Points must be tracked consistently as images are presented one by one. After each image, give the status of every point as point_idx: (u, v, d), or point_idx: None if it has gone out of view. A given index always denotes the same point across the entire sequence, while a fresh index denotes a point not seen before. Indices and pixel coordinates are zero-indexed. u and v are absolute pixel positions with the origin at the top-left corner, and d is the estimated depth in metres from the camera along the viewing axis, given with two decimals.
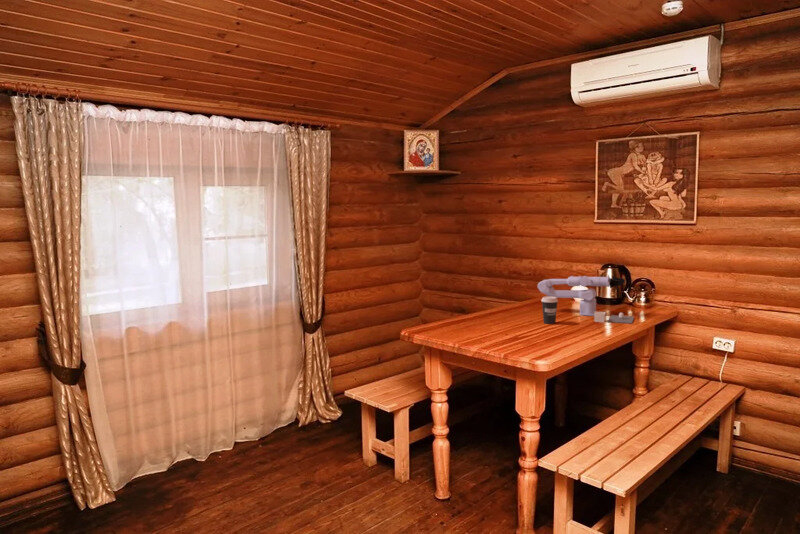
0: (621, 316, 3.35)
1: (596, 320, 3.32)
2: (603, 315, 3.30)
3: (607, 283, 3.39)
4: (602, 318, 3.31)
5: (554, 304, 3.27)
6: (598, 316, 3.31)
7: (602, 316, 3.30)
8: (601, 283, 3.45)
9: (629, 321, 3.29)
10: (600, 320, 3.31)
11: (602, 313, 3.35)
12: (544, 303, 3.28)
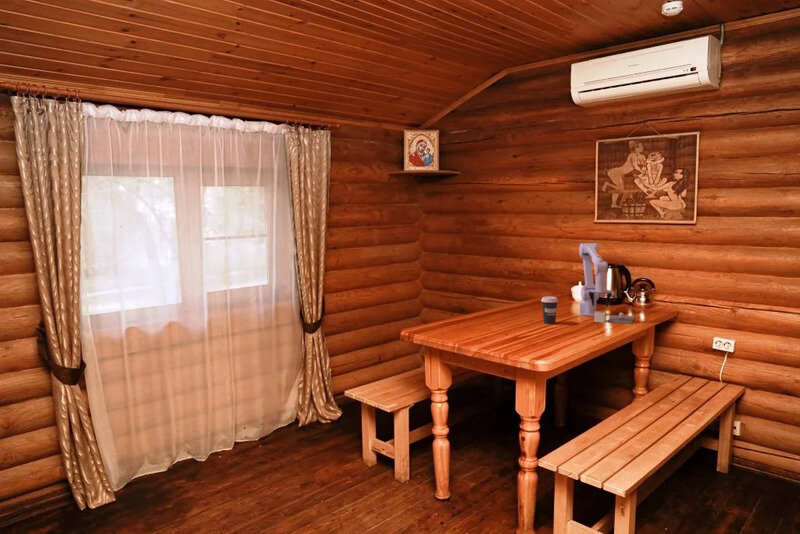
0: (621, 316, 3.35)
1: (596, 320, 3.32)
2: (603, 315, 3.30)
3: (587, 291, 3.35)
4: (602, 318, 3.31)
5: (554, 304, 3.27)
6: (598, 316, 3.31)
7: (602, 316, 3.30)
8: None
9: (629, 321, 3.29)
10: (600, 320, 3.31)
11: (602, 313, 3.35)
12: (544, 303, 3.28)
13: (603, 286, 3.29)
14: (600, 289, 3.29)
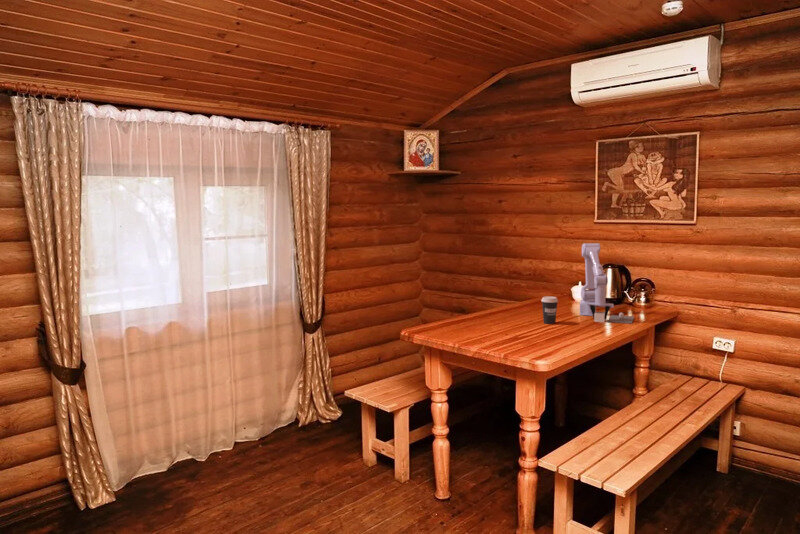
0: (621, 316, 3.35)
1: (596, 320, 3.32)
2: (603, 315, 3.30)
3: (587, 304, 3.36)
4: (602, 318, 3.31)
5: (554, 304, 3.27)
6: (598, 316, 3.31)
7: (602, 316, 3.30)
8: None
9: (629, 321, 3.29)
10: (600, 320, 3.31)
11: (602, 313, 3.35)
12: (544, 303, 3.28)
13: (603, 299, 3.30)
14: (600, 302, 3.30)
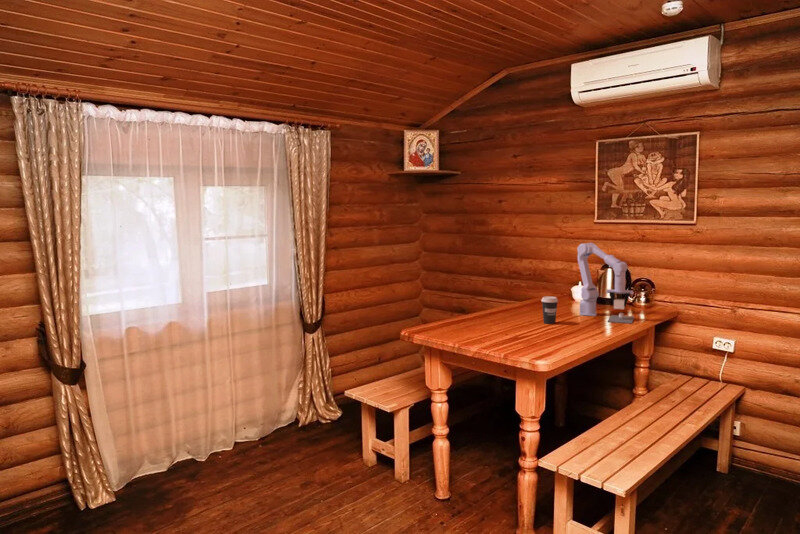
0: (621, 316, 3.35)
1: (616, 307, 3.33)
2: (623, 302, 3.31)
3: None
4: (622, 305, 3.32)
5: (554, 304, 3.27)
6: (618, 303, 3.33)
7: (622, 303, 3.32)
8: None
9: (629, 321, 3.29)
10: (619, 307, 3.32)
11: (621, 300, 3.36)
12: (544, 303, 3.28)
13: (622, 286, 3.31)
14: (619, 289, 3.31)
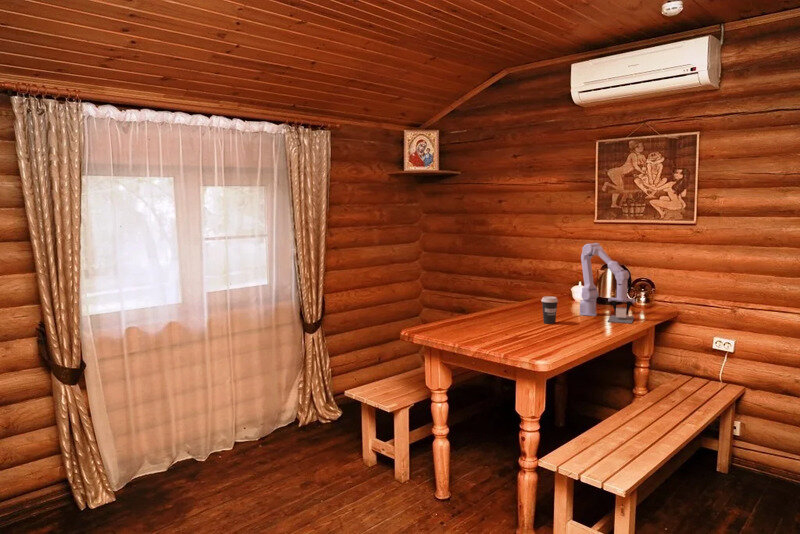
0: None
1: (618, 315, 3.34)
2: (625, 310, 3.32)
3: None
4: (624, 313, 3.33)
5: (554, 304, 3.27)
6: (620, 311, 3.33)
7: (624, 311, 3.32)
8: None
9: (629, 321, 3.29)
10: (621, 316, 3.33)
11: (623, 308, 3.37)
12: (544, 303, 3.28)
13: (624, 294, 3.32)
14: (621, 297, 3.32)
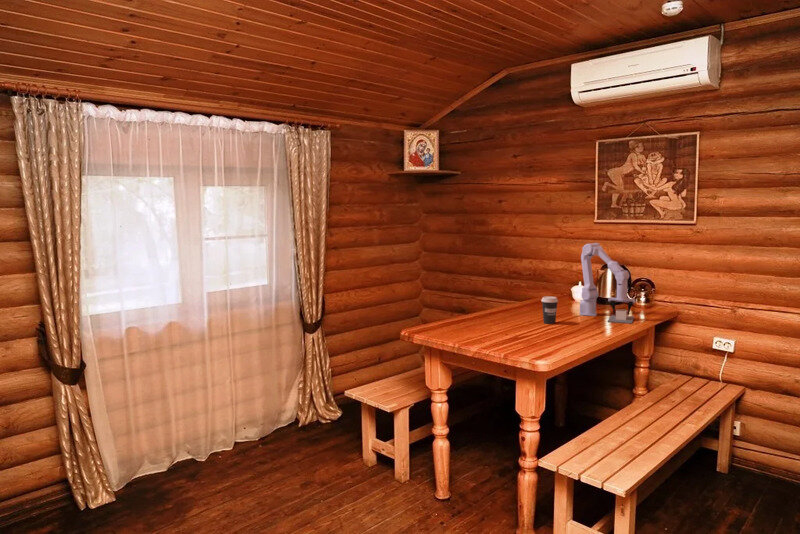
0: None
1: (618, 318, 3.34)
2: (625, 313, 3.32)
3: None
4: (624, 316, 3.33)
5: (554, 304, 3.27)
6: (620, 314, 3.34)
7: (624, 314, 3.33)
8: None
9: (629, 321, 3.29)
10: (621, 318, 3.33)
11: (623, 311, 3.37)
12: (544, 303, 3.28)
13: (624, 294, 3.32)
14: (621, 297, 3.32)
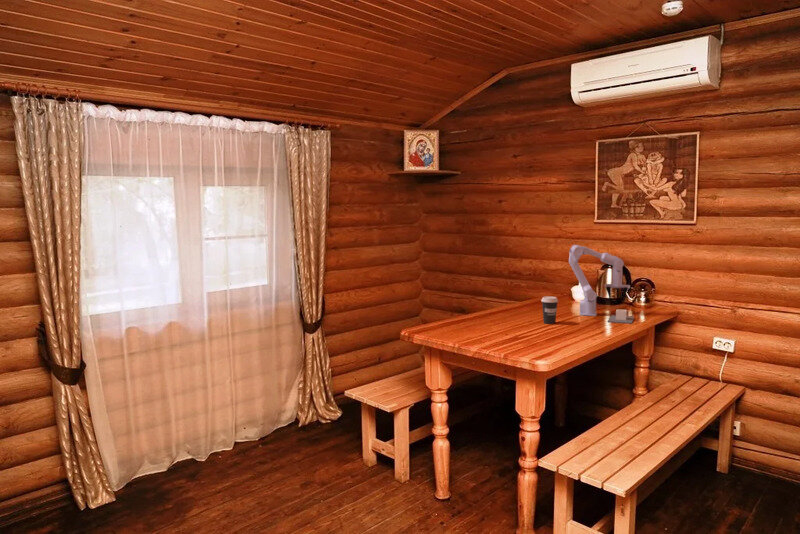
0: None
1: (618, 318, 3.34)
2: (625, 313, 3.32)
3: None
4: (624, 316, 3.33)
5: (554, 304, 3.27)
6: (620, 314, 3.34)
7: (624, 314, 3.33)
8: None
9: (629, 321, 3.29)
10: (621, 318, 3.33)
11: (623, 311, 3.37)
12: (544, 303, 3.28)
13: (620, 281, 3.45)
14: (617, 283, 3.46)
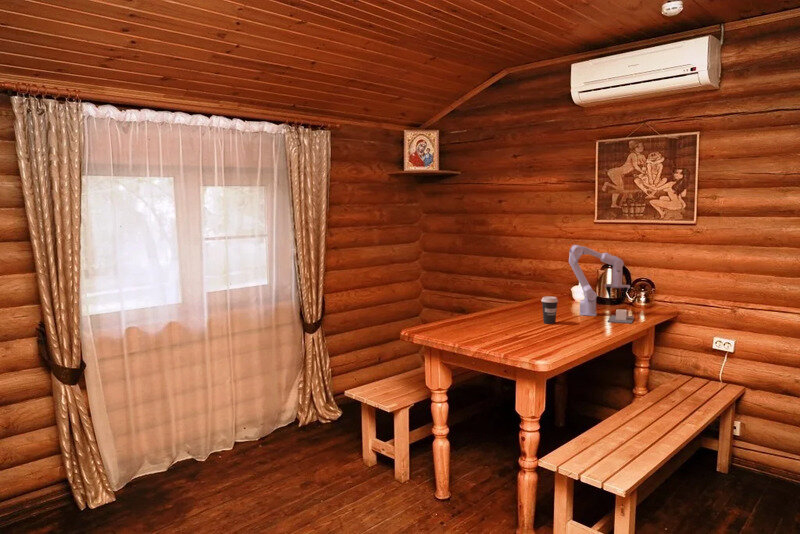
0: None
1: (618, 318, 3.34)
2: (625, 313, 3.32)
3: None
4: (624, 316, 3.33)
5: (554, 304, 3.27)
6: (620, 314, 3.34)
7: (624, 314, 3.33)
8: None
9: (629, 321, 3.29)
10: (621, 318, 3.33)
11: (623, 311, 3.37)
12: (544, 303, 3.28)
13: (620, 281, 3.45)
14: (617, 283, 3.46)
